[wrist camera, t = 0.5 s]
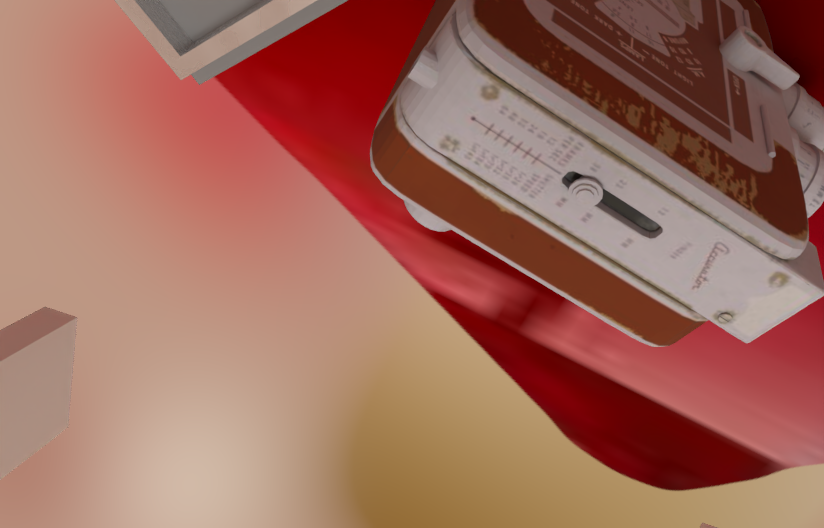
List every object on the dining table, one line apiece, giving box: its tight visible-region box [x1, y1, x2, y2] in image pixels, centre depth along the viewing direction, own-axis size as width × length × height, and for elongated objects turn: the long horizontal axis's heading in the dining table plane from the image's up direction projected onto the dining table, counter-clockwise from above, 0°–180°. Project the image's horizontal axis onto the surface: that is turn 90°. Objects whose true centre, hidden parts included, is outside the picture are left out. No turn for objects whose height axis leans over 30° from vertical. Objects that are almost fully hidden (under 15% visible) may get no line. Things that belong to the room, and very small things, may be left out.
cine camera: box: [370, 0, 824, 347], centre depth 33 cm, size 9×19×20 cm, turn 61°
